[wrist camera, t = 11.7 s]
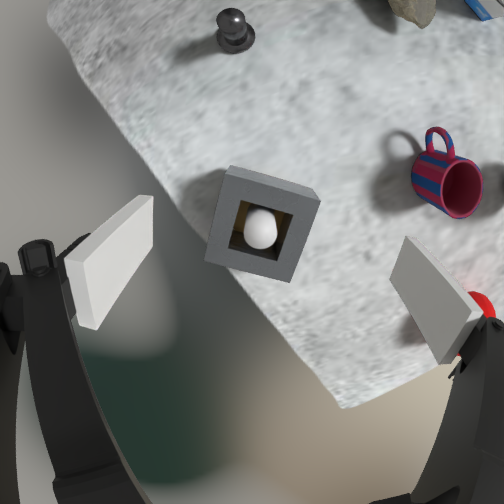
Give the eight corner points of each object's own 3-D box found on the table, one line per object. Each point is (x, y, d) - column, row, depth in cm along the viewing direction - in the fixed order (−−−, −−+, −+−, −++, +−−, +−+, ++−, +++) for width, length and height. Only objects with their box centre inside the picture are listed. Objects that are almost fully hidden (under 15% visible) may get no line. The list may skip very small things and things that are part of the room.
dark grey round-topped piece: (214, 27, 24) (203, 7, 19) (250, 18, 24) (247, -3, 18) (222, 57, 26) (213, 42, 20) (258, 48, 25) (258, 32, 20)
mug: (415, 206, 32) (442, 226, 26) (400, 128, 28) (429, 133, 22) (454, 194, 31) (484, 210, 25) (442, 119, 27) (475, 124, 21)
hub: (223, 187, 32) (212, 206, 26) (284, 173, 31) (291, 188, 25) (238, 242, 35) (232, 274, 28) (296, 231, 34) (304, 260, 28)
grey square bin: (230, 165, 30) (224, 173, 25) (312, 188, 31) (320, 201, 26) (211, 240, 34) (203, 260, 29) (286, 260, 34) (289, 282, 30)
